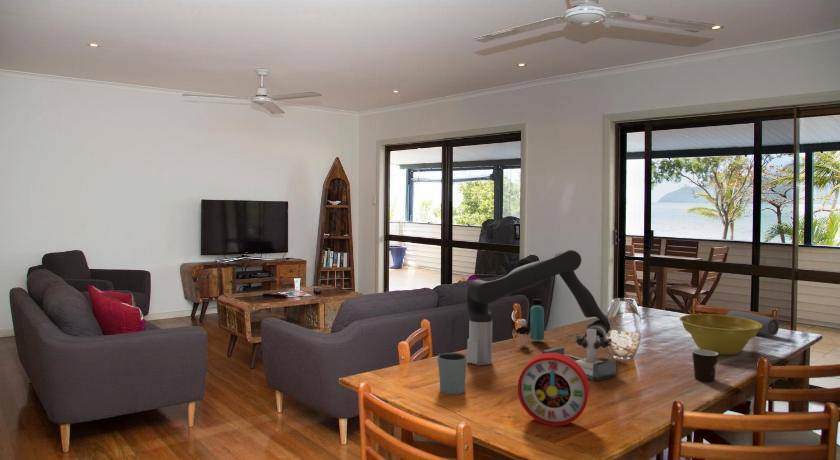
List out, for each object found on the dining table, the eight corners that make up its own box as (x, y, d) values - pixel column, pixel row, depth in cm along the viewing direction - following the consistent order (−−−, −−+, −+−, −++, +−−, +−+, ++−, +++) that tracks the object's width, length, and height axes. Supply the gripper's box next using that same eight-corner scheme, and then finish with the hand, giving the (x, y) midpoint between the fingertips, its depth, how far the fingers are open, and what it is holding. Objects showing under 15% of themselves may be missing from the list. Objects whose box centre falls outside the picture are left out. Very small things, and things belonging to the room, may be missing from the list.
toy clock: (517, 421, 174) (517, 354, 173) (520, 414, 179) (521, 349, 178) (586, 430, 167) (588, 361, 166) (588, 423, 172) (589, 356, 171)
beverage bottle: (544, 343, 268) (544, 300, 267) (529, 343, 269) (530, 300, 268) (544, 340, 275) (544, 298, 274) (529, 339, 276) (530, 297, 275)
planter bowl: (744, 366, 233) (745, 332, 232) (665, 350, 257) (666, 320, 257) (773, 352, 254) (774, 321, 254) (697, 339, 278) (698, 311, 278)
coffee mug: (707, 384, 209) (707, 356, 209) (686, 377, 217) (687, 351, 216) (728, 379, 215) (729, 352, 214) (707, 373, 222) (707, 347, 222)
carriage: (593, 373, 215) (593, 333, 214) (575, 368, 221) (576, 329, 221) (606, 369, 220) (607, 330, 219) (588, 365, 226) (589, 326, 225)
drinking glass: (457, 397, 195) (458, 361, 194) (431, 391, 200) (432, 357, 199) (471, 389, 203) (472, 354, 203) (446, 384, 209) (446, 350, 208)
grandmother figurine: (527, 345, 265) (528, 317, 264) (532, 347, 261) (532, 319, 261) (512, 346, 262) (512, 318, 262) (516, 349, 259) (517, 320, 258)
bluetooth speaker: (724, 329, 300) (724, 310, 300) (736, 327, 304) (737, 308, 303) (766, 339, 279) (767, 318, 279) (779, 337, 283) (779, 316, 283)
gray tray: (597, 381, 212) (597, 365, 212) (542, 365, 233) (542, 350, 232) (615, 376, 218) (615, 360, 218) (560, 361, 239) (560, 346, 239)
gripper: (577, 325, 236) (571, 334, 220) (614, 328, 230) (610, 337, 215) (577, 343, 236) (570, 354, 220) (614, 347, 231) (610, 358, 215)
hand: (590, 346), depth 218 cm, fingers closed on carriage, 3 cm apart
